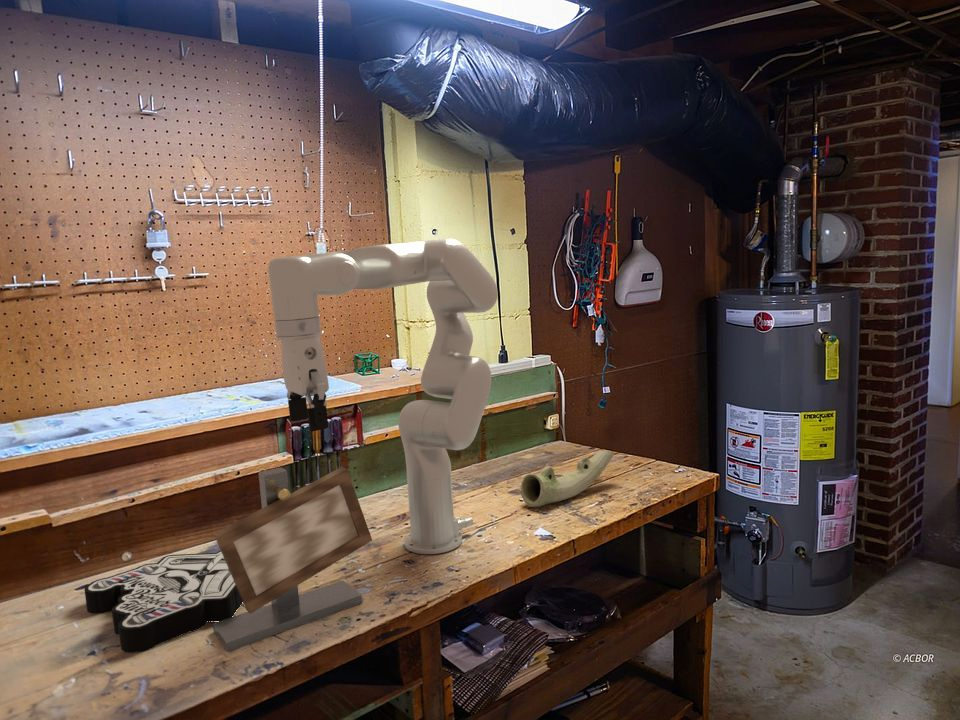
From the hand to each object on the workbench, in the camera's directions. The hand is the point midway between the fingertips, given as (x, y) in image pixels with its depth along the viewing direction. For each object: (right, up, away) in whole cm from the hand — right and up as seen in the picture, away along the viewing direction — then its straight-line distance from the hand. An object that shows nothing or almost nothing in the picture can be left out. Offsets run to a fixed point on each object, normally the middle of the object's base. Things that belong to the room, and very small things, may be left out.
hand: (308, 424), depth 121 cm
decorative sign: (-25, -34, +9) cm, 43 cm away
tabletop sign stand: (-3, -34, -1) cm, 34 cm away
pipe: (+53, -23, +54) cm, 79 cm away
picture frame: (+1, -26, 0) cm, 26 cm away
